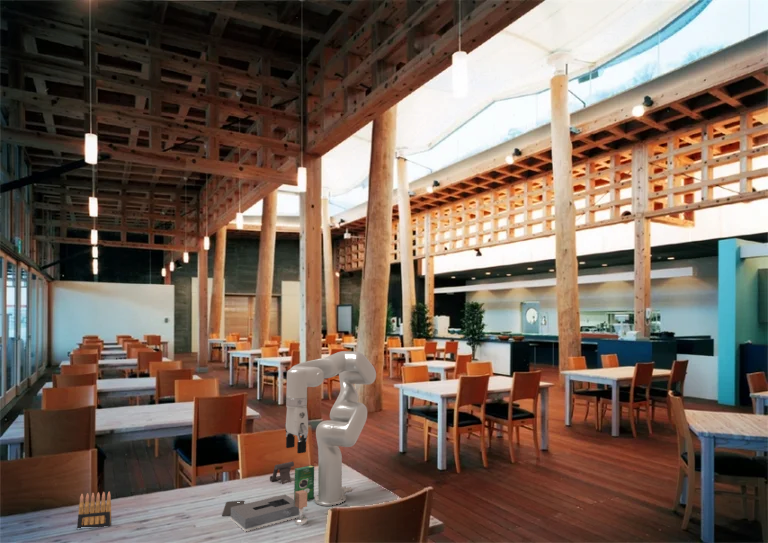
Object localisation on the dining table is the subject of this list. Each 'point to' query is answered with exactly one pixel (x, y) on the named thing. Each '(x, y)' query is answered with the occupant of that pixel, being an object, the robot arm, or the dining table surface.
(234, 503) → the smartphone
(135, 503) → the dining table surface
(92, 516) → the ammunition clip
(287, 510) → the keyhole plate
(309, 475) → the coffee box
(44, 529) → the dining table surface
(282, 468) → the portable electronic device stand
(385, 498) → the dining table surface
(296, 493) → the peg
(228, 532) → the dining table surface
